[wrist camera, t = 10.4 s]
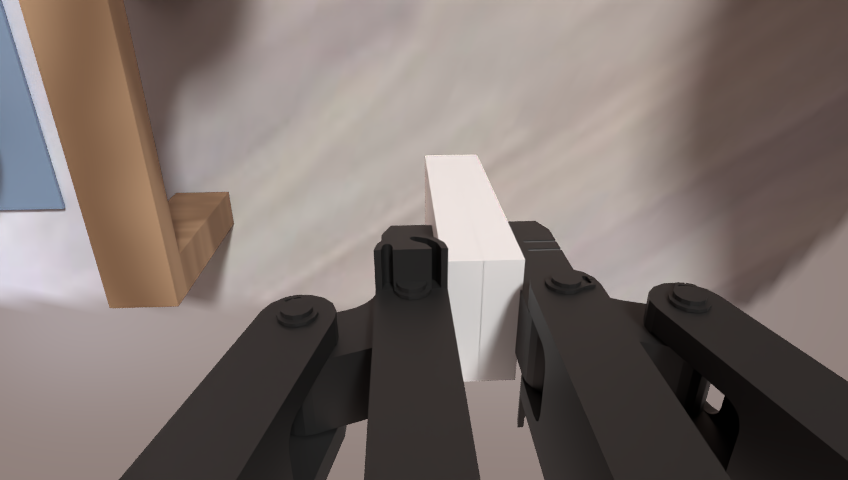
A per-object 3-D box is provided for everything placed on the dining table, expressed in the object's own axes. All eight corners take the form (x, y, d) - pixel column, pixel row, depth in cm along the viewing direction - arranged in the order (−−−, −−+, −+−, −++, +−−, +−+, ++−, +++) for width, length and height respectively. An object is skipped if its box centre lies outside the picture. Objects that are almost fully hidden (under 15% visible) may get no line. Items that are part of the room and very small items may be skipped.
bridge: (187, -51, 26) (92, -66, 18) (233, 223, 33) (178, 306, 24) (124, -51, 26) (-1, -65, 18) (182, 224, 33) (109, 308, 24)
